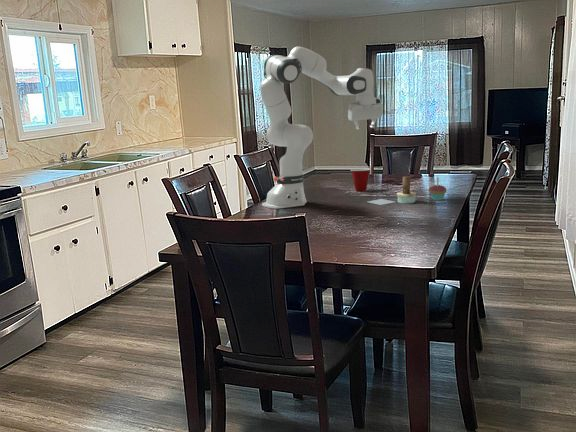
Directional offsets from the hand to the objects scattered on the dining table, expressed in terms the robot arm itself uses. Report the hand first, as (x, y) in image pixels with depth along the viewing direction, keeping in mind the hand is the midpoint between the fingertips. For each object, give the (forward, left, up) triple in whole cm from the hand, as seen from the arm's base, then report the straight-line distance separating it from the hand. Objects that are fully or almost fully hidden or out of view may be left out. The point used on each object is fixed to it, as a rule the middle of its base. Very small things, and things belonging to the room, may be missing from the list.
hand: (365, 128), depth 291 cm
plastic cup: (+5, +10, -34) cm, 36 cm away
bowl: (0, -29, -34) cm, 45 cm away
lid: (0, -29, -31) cm, 42 cm away
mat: (-9, -21, -34) cm, 41 cm away
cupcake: (+15, -35, -34) cm, 51 cm away
